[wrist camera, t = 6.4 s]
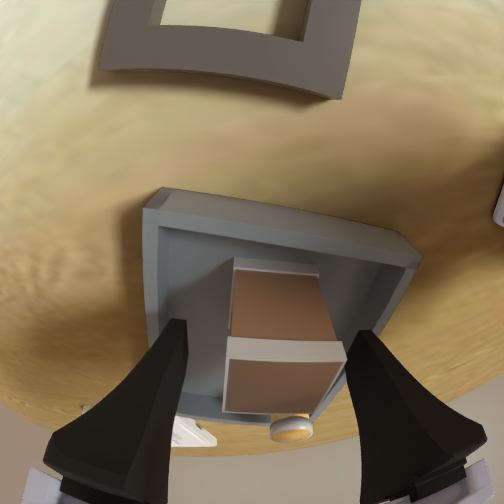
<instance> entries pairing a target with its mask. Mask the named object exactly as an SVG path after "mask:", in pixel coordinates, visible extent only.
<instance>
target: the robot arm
mask: <svg viewBox="0 0 504 504" xmlns="http://www.w3.org/2000/svg"><path fill="white" fill-rule="evenodd" d="M493 221H494V222H495V223H497V224H498V225H500V226H502V227H504V185H503V188H502V191H501V194H500V197H499V200H498V203H497V205H496V208H495V211H494V213H493ZM188 355H189V348H188V334H187V320H183V319H175V318H171V319H170V320H169V321H168V323H167V324H166V326H165V328H164V329H163V331H162V332H161V334H160V335H159V337H158V338H157V339H156V341H155V342H154V344H153V345H152V346H151V348H150V349H149V350H148V352H147V353H146V354H145V356H144V357H143V358H142V359H141V360H140V362H139V363H138V364H137V365H136V366H135V367H134V369H133V370H132V371H131V372H130V373H129V374H128V375H127V376H126V378H125V379H124V380H123V381H122V382H121V383H120V384H119V385H118V386H117V387H116V388H115V389H114V390H112V391H111V392H110V393H109V394H108V395H107V396H106V397H105V398H103V399H102V400H101V401H100V402H99V403H97V404H96V405H95V406H94V407H92V408H91V409H90V410H88V411H87V412H85V413H84V414H83V415H81V416H80V417H78V418H77V419H75V420H74V421H72V422H71V423H69V424H67V425H65V426H64V427H62V428H60V429H59V430H57V431H55V432H54V433H53V434H52V437H51V439H50V440H49V443H48V445H47V448H46V452H45V455H44V458H43V462H44V463H45V464H46V465H47V466H48V467H50V468H51V469H53V470H55V471H56V472H58V473H60V474H61V475H63V479H62V481H61V480H59V479H57V478H55V477H53V476H51V475H49V474H47V473H45V472H43V471H41V470H39V469H38V468H36V467H34V466H31V468H30V472H29V475H28V478H27V482H26V486H25V490H24V494H23V498H22V503H21V504H167V503H168V498H167V497H168V474H169V461H170V450H171V441H172V432H173V425H174V420H175V415H176V411H177V407H178V403H179V399H180V395H181V391H182V387H183V383H184V379H185V375H186V369H187V362H188ZM346 357H347V361H346V363H345V365H344V366H345V373H346V380H347V384H348V388H349V392H350V395H351V399H352V403H353V407H354V410H355V414H356V418H357V423H358V428H359V436H360V445H361V462H362V480H361V494H360V504H379V503H383V502H386V501H389V500H390V502H387V503H384V504H484V503H486V502H487V501H488V500H490V499H491V498H492V497H493V496H494V495H495V493H494V489H493V485H492V482H491V478H490V475H489V471H488V468H487V465H486V462H485V459H481V460H480V461H478V462H476V463H474V464H473V465H471V466H469V467H467V468H466V469H464V464H466V463H467V461H466V456H468V455H469V454H471V453H472V452H474V451H475V450H477V449H478V448H479V447H481V446H482V445H483V444H485V443H486V441H487V437H486V434H485V431H484V429H483V427H482V425H481V424H478V423H476V422H474V421H472V420H470V419H468V418H466V417H464V416H463V415H461V414H459V413H458V412H456V411H454V410H453V409H451V408H450V407H448V406H447V405H446V404H444V403H443V402H441V401H440V400H439V399H437V398H436V397H435V396H434V395H432V394H431V393H430V392H429V391H428V390H427V389H426V388H424V387H423V386H422V385H421V384H420V383H419V382H418V381H417V380H416V379H415V378H414V377H413V376H412V375H411V374H410V373H409V372H408V371H407V370H406V369H405V368H404V367H403V365H402V364H401V363H400V362H399V361H398V360H397V359H396V358H395V356H394V355H393V354H392V353H391V352H390V351H389V350H388V348H387V347H386V346H385V345H384V344H383V343H382V341H381V340H380V339H379V338H378V337H377V336H376V335H375V333H374V332H373V331H372V330H359V331H358V333H357V335H356V337H355V339H354V341H353V343H352V345H351V347H350V348H349V350H348V352H347V354H346Z"/></svg>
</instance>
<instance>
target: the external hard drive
mask: <svg viewBox="0 0 504 504" xmlns="http://www.w3.org/2000/svg"><path fill="white" fill-rule="evenodd" d="M92 407H94V406H85V405H84V407H83V410H82V413H83V414H84V413H85V412H87V411H88V410H90V409H91V408H92ZM203 446H206V447H207V446H217V439H216V438H215V437H213V436H212V435H211V434H210V433H208V432H207V431H206V430H205V429H203V428H201V427H200V426H199V425H198V424H196V422H195V421H194V420H193V419H191V418H185V417H179V416H175V420H174V425H173V432H172V441H171V447H203Z"/></svg>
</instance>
